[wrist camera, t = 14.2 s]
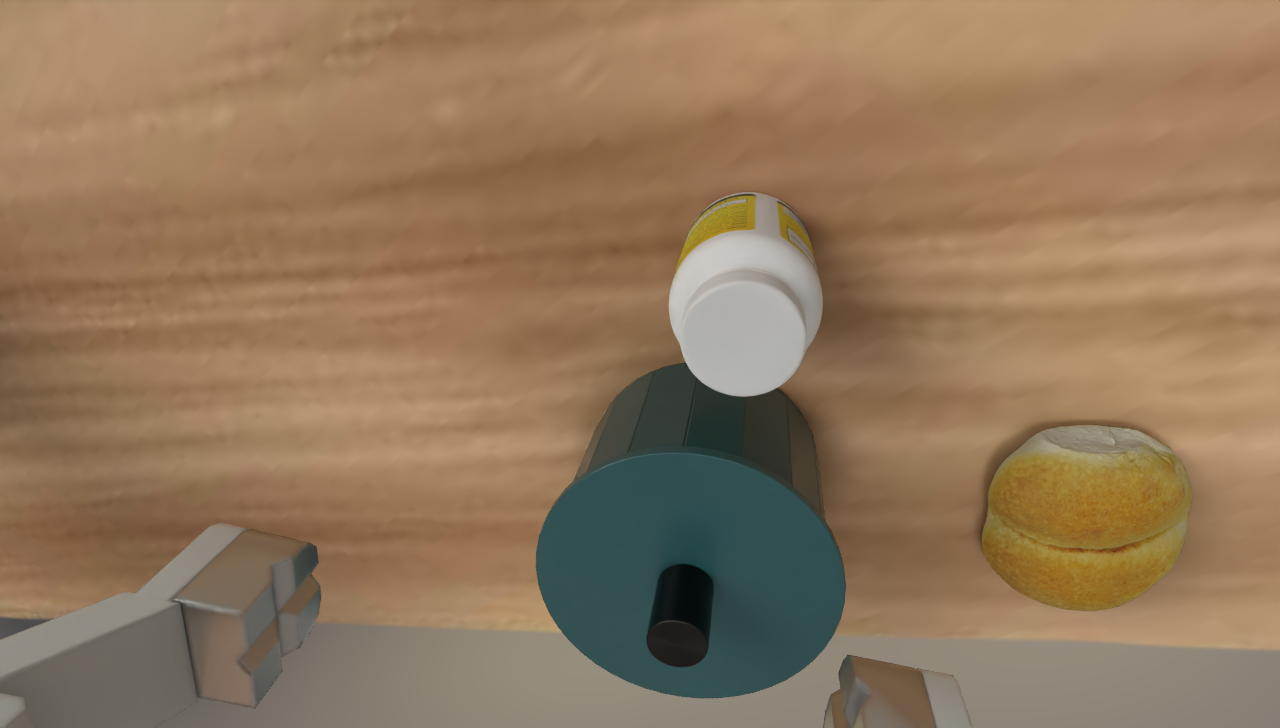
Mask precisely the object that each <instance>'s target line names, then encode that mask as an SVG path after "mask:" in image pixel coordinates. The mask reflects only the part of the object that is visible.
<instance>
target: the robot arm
mask: <svg viewBox="0 0 1280 728" xmlns="http://www.w3.org/2000/svg"><path fill="white" fill-rule="evenodd" d="M318 564H319V562H318V554H317V547H316V546H315V545H313V544H311V543H309V542H304V541H300V540H296V539H292V538H288V537H283V536H279V535H275V534H271V533H266V532H262V531H258V530H254V529H246V528H242V527H238V526H234V525H230V524H225V523H221V522H220V523H217V524H215V525H212V526H210V527H208V528H207V529H206V530H205V531H204V532H203V533H202V534H200V535H199V536H198V537H197V538H196V539H195V540H194V541H193V542H192V543H190V544H189V545H188V546H187V547H186V548H185V549H184V550H183V551H182V552H181V553H179V554H178V555H177V556H176V557H175V558H174V559H173V560H172V561H171V562H170V563H168V564H167V565H166V566H165V567H164V568H163V569H162V570H161V571H160V572H159V573H157V574H156V575H155V576H154V577H153V578H152V579H151V580H150V581H149V582H148V583H146V584H145V585H144V586H143V587H142V588H141V589H140V590H139V591H138V592H137V593H130V592H123V593H121V594H118V595H116V596H113V597H110V598H108V599H105V600H103V601H100V602H97V603H95V604H92V605H90V606H87V607H84V608H82V609H79V610H77V611H74V612H71V613H69V614H66V615H64V616H61V617H58V618H56V619H53V620H51V621H48V622H46V623H43V624H40V625H38V626H36V627H32V628H30V629H27V630H25V631H22V632H20V633H17V634H14V635H12V636H9V637H7V638H4V639H2V640H0V728H156V727H157V726H159V725H161V724H162V723H164V722H165V721H167V720H168V719H170V718H172V717H173V716H175V715H177V714H178V713H180V712H181V711H183V710H184V709H186V708H187V707H189V706H191V705H192V704H194V703H195V702H197V701H198V698H203V699H208V700H213V701H219V702H224V703H229V704H234V705H239V706H244V707H250V708H256V707H257V705H258V704H259V702H260V701H261V700H262V698H263V697H264V696H265V694H266V693H267V692H268V690H269V689H270V687H271V686H272V685H273V684H274V682H275V681H276V679H277V678H278V677H279V675H280V674H281V673H282V661H281V657H283V656H285V655H287V654H289V653H290V652H292V651H294V650H296V649H298V648H300V647H301V645H302V644H303V642H304V641H305V639H306V638H307V637H308V635H309V634H310V632H311V630H312V628H313V625H314V623H315V620H316V618H317V616H318V613H319V607H320V601H321V590H320V585H319V584H318V582H317V581H316V580H315V578H314V577H313V576H312V575H311V572H312V571H313V570H314V569H315V567H316V566H317V565H318ZM839 681H840V689H839V690H838V691H836V692H834V693H833V694H831V696H830V698H829V702H828V705H827V708H826V711H825V718H824V725H823V728H973V726H972V723H971V720H970V717H969V714H968V711H967V708H966V705H965V702H964V699H963V696H962V693H961V690H960V687H959V683H958V681H957V680H956V679H955V678H954V676H953V675H949V674H944V673H939V672H934V671H928V670H923V669H915V668H912V667H907V666H902V665H897V664H892V663H887V662H882V661H877V660H872V659H867V658H862V657H857V656H852V655H847V657H846V658H845V659H844V660H843V662H842V665H841V668H840V670H839Z"/></svg>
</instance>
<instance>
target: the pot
mask: <svg viewBox="0 0 1280 728" xmlns="http://www.w3.org/2000/svg"><path fill="white" fill-rule="evenodd" d="M665 446H687V447H698V448H705V449H712V450H717V451H721V452H724V453H728V454H732V455H736V456H738V457H741V458H744V459H746V460H749V461H751V462H754V463H756V464H758V465H760V466H762V467H764V468H766V469H768V470H770V471H772V472H774V473H775V474H777V475H778V476H780V477H781V478H783V479H784V480H786V481H787V482H788V483H790V484H791V485H793V486H794V487H795V488H796V489H797V490H798V491H800V492H801V493H802V494H803V495H804V496H805V497H806V498H807V499H808V500H809V501H810V502H811V503H812V504H813V505H814V507H815V508H816V509H817V510H818V511H819V512H820V514H821V515H822V516H823V518H824V520H825V521H826V518H825V510H824V502H823V494H822V485H821V477H820V470H819V464H818V459H817V454H816V447H815V443H814V438H813V434H812V432H811V430H810V428H809V426H808V424H807V422H806V420H805V419H804V417H803V415H802V414H801V412H800V411H799V409H798V408H797V407H796V406H795V405H794V403H793V402H792V401H791V400H790V399H789V398H788V397H787V396H786V395H785V394H784V393H783V392H782V391H780V390H779V389H778V388H776V389H774V390H772V391H770V392H767V393H764V394H760V395H756V396H747V397H740V396H732V395H727V394H724V393H721V392H718V391H716V390H713V389H712V388H710V387H708V386H706V385H705V384H704V383H702V382H701V381H700V380H699V379H698V378H697V377H696V376H695V375H694V374H693V373H692V372H691V370H690V369H689V367H688V366H687V364H686V363H681V364H675V365H671V366H667V367H663V368H660V369H658V370H655V371H652V372H650V373H648V374H646V375H644V376H642V377H641V378H639V379H637V380H636V381H634V382H633V383H631V384H630V385H629V386H627V387H626V388H625V389H624V390H623V391H622V392H621V393H620V394H619V395H617V397H616V398H615V399H614V401H613V402H612V403H611V405H610V406H609V408H608V409H607V411H606V413H605V415H604V416H603V418H602V420H601V421H600V423H599V424H598V426H597V428H596V430H595V432H594V435H593V437H592V439H591V441H590V444H589V446H588V448H587V451H586V453H585V455H584V458H583V460H582V462H581V465H580V467H579V469H578V472H577V474H576V476H575V479H574V481H575V480H576V479H577V478H578V477H579V476H581V475H582V474H584V473H585V472H586V471H588V470H589V469H591V468H592V467H594V466H596V465H598V464H600V463H602V462H604V461H606V460H608V459H610V458H613V457H616V456H619V455H622V454H625V453H628V452H631V451H636V450H641V449H646V448H653V447H665Z"/></svg>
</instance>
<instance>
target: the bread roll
mask: <svg viewBox="0 0 1280 728" xmlns="http://www.w3.org/2000/svg"><path fill="white" fill-rule="evenodd" d="M1192 494H1193V493H1192V488H1191V484H1190V481H1189V478H1188V475H1187V473H1186V470H1185V468H1184V466H1183V464H1182V462H1181V460H1180V459H1179V458H1178V457H1177V456H1176V454H1175V453H1174V452H1173V451H1172V449H1171V448H1170V447H1168V446H1166V445H1164V444H1163V443H1161V442H1159V441H1158V440H1156V439H1154V438H1152V437H1150V436H1147V435H1146V434H1144V433H1143V432H1141V431H1138V430H1135V429H1130V428H1117V427H1105V426H1099V425H1076V426H1064V427H1056V428H1050V429H1046V430H1043V431H1040V432H1039V433H1037V434H1035V435H1034V436H1032V437H1031V438H1030V439H1028V440H1027V441H1026V442H1025V443H1024V444H1023V445H1022V446H1020V447H1019V448H1018V449H1017V450H1016V451H1014V452H1013V453H1012V454H1011V455H1010V456H1009V457H1008V458H1007V459H1005V460H1004V461H1003V462H1002V464H1001V465H1000V466H999V468H998V470H997V471H996V473H995V475H994V477H993V480H992V482H991V485H990V488H989V490H988V505H989V506H988V513H987V519H986V522H985V524H984V527H983V531H982V538H981V543H982V550H983V553H984V555H985V557H986V559H987V561H988V563H989V564H990V566H991V567H992V569H993V570H994V571H995V572H996V573H997V574H998V575H999V576H1000V577H1001V578H1002V579H1003V580H1004V581H1005V582H1006V583H1008V584H1009V585H1010V586H1011V587H1012V588H1013V589H1015V590H1016V591H1018V592H1020V593H1022V594H1024V595H1026V596H1027V597H1029V598H1031V599H1034V600H1036V601H1038V602H1041V603H1044V604H1046V605H1049V606H1053V607H1057V608H1062V609H1068V610H1078V611H1098V610H1105V609H1109V608H1113V607H1117V606H1120V605H1123V604H1125V603H1127V602H1129V601H1131V600H1133V599H1135V598H1136V597H1138V596H1140V595H1141V594H1143V593H1144V592H1146V591H1147V590H1148V589H1149V588H1150V587H1152V586H1153V585H1154V584H1156V583H1157V582H1158V581H1159V580H1161V579H1162V578H1163V577H1164V576H1165V575H1166V574H1167V573H1168V572H1169V571H1170V570H1171V569H1172V567H1173V565H1174V563H1175V562H1176V560H1177V559H1178V557H1179V554H1180V552H1181V547H1182V545H1183V543H1184V540H1185V534H1186V528H1187V523H1188V514H1189V510H1190V507H1191V503H1192Z"/></svg>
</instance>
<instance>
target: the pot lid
mask: <svg viewBox="0 0 1280 728" xmlns="http://www.w3.org/2000/svg"><path fill="white" fill-rule="evenodd" d="M536 571H537V577H538V584H539V587H540V591H541V594H542V597H543V600H544V602H545V604H546V607H547V609H548V611H549V613H550V615H551V616H552V618H553V620H554V621H555V623H556V624H557V626H558V627H559V629H560V630H561V631H562V632H563V634H564V635H565V636H566V637H567V638H568V640H569V641H570V642H571V643H572V644H573V645H574V646H575V647H576V648H578V650H579V651H581V652H582V653H583V654H584V655H585V656H587V657H588V658H589V659H590V660H592V661H593V662H594V663H596V664H597V665H599V666H601V667H602V668H604V669H605V670H607V671H608V672H610V673H612V674H614V675H616V676H618V677H620V678H622V679H624V680H626V681H628V682H630V683H633V684H635V685H638V686H641V687H644V688H646V689H650V690H653V691H657V692H660V693H665V694H670V695H676V696H681V697H693V698H723V697H732V696H739V695H743V694H749V693H754V692H757V691H760V690H763V689H766V688H769V687H772V686H774V685H776V684H778V683H780V682H783V681H785V680H787V679H788V678H790V677H791V676H793V675H795V674H796V673H798V672H800V671H801V670H802V669H803V668H805V667H806V666H807V665H808V664H810V663H811V662H812V661H813V660H814V659H815V658H816V657H817V656H818V655H819V654H820V653H821V652H822V650H823V649H824V648H825V647H826V646H827V644H828V642H829V641H830V639H831V638H832V636H833V635H834V633H835V631H836V628H837V626H838V624H839V622H840V619H841V616H842V612H843V608H844V604H845V591H846V583H845V573H844V565H843V561H842V557H841V553H840V550H839V546H838V544H837V542H836V539H835V537H834V535H833V533H832V531H831V529H830V527H829V526H828V524H827V523H826V521H825V520H824V518H823V516H822V515H821V514H820V512H819V511H818V510H817V509H816V508H815V507H814V505H813V504H812V503H811V502H810V501H809V500H808V499H807V498H806V497H805V496H804V495H803V494H802V493H801V492H800V491H798V490H797V489H796V488H795V487H794V486H793V485H791V484H790V483H788V482H787V481H786V480H784V479H783V478H781V477H780V476H778V475H777V474H775V473H774V472H772V471H770V470H768V469H766V468H764V467H762V466H760V465H758V464H756V463H754V462H751V461H749V460H746V459H744V458H741V457H738V456H736V455H732V454H728V453H724V452H721V451H717V450H712V449H705V448H698V447H687V446H665V447H653V448H646V449H641V450H636V451H631V452H628V453H625V454H622V455H619V456H616V457H613V458H610V459H608V460H606V461H604V462H602V463H600V464H598V465H596V466H594V467H592V468H591V469H589V470H588V471H586V472H585V473H584V474H582V475H581V476H579V477H578V478H577V479H576V480H575V481H573V482H572V483H571V484H570V485H569V486H568V487H567V488H566V489H565V490H564V491H563V493H562V494H561V495H560V496H559V498H558V499H557V500H556V501H555V503H554V505H553V506H552V508H551V510H550V512H549V514H548V515H547V517H546V520H545V522H544V524H543V527H542V530H541V533H540V536H539V540H538V546H537V551H536Z"/></svg>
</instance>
